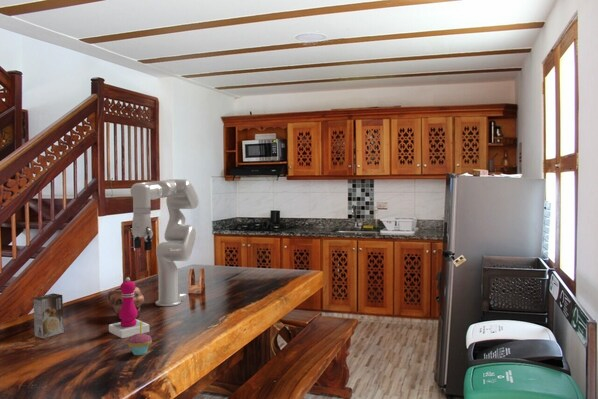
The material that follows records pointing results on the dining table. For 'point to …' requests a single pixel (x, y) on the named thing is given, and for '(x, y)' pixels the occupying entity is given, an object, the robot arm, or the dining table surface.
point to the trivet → (128, 329)
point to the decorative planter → (118, 300)
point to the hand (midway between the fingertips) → (142, 248)
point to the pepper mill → (128, 304)
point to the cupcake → (139, 342)
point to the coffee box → (48, 315)
